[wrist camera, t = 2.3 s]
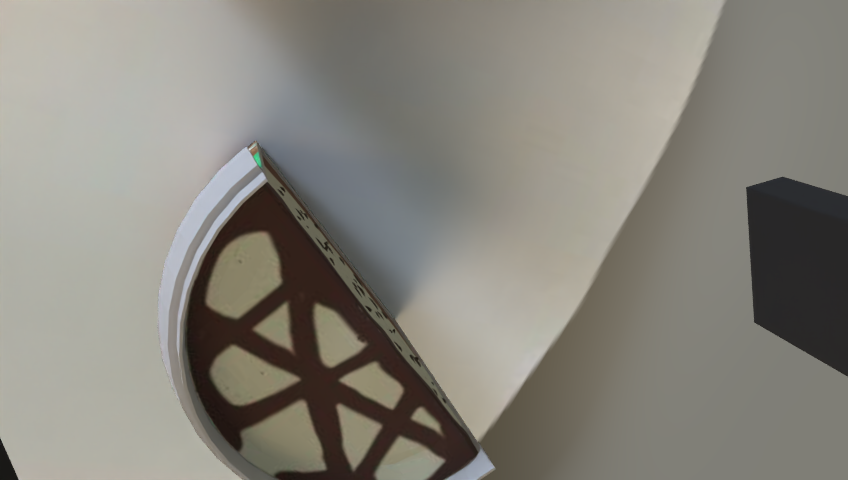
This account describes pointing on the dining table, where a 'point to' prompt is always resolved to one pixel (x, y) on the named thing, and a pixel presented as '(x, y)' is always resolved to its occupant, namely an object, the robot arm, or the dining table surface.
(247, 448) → the food container
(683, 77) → the dining table surface
